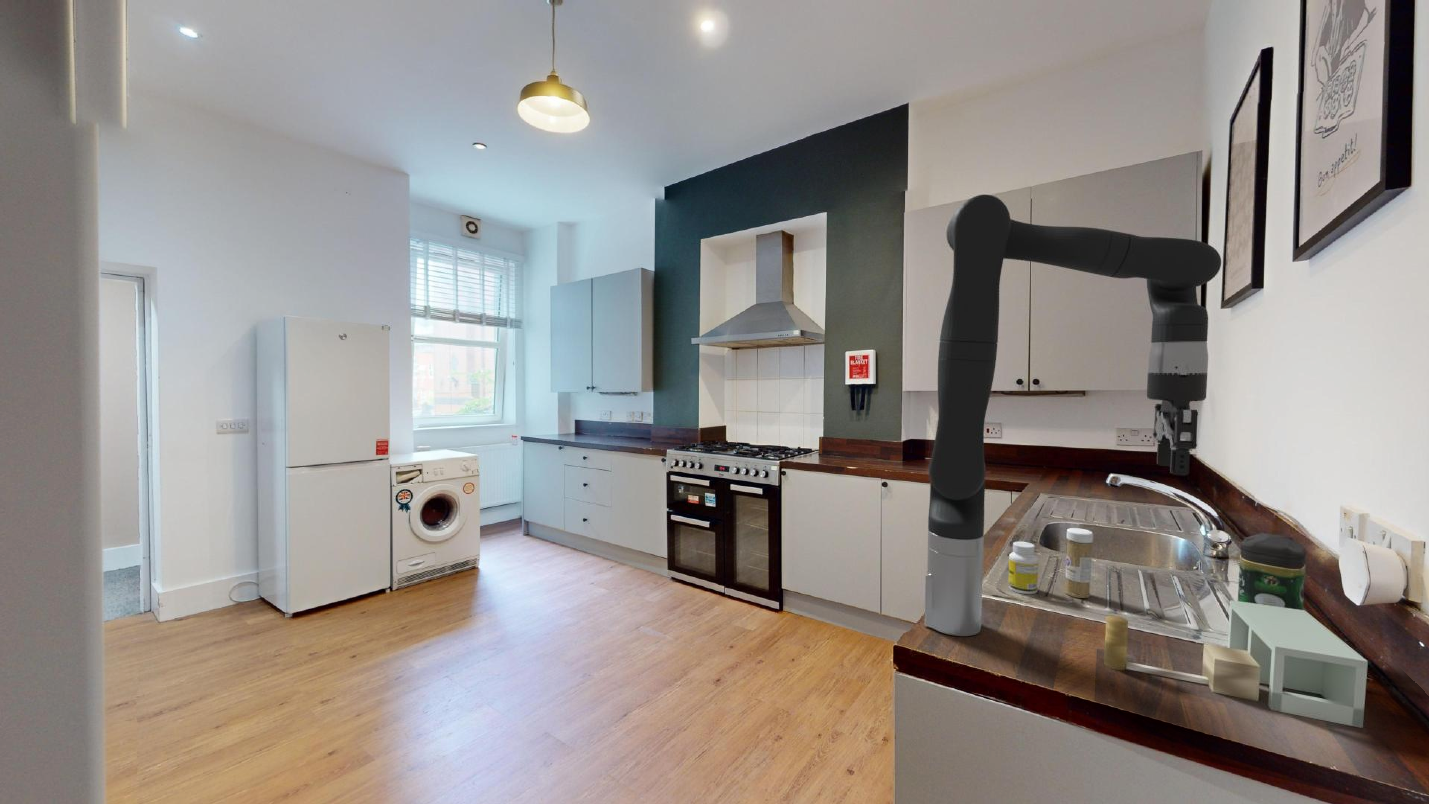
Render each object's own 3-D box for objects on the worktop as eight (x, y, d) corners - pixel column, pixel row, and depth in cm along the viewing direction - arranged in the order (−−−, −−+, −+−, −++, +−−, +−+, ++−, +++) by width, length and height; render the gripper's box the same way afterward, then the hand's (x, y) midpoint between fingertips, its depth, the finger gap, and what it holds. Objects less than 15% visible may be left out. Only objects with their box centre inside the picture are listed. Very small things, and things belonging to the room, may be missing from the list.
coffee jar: (1239, 628, 103) (1245, 526, 102) (1302, 644, 97) (1309, 536, 96) (1230, 646, 97) (1237, 537, 95) (1297, 664, 91) (1305, 549, 89)
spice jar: (1059, 590, 120) (1061, 527, 119) (1079, 589, 121) (1082, 526, 120) (1075, 599, 116) (1077, 534, 115) (1096, 598, 116) (1098, 533, 115)
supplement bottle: (1009, 583, 124) (1010, 538, 124) (1037, 588, 122) (1039, 542, 121) (1007, 591, 120) (1008, 545, 119) (1036, 597, 117) (1038, 549, 116)
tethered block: (1106, 671, 89) (1108, 624, 88) (1101, 656, 93) (1103, 611, 93) (1258, 701, 81) (1261, 649, 80) (1244, 683, 85) (1247, 634, 85)
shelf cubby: (1271, 709, 79) (1275, 646, 78) (1226, 653, 94) (1230, 600, 93) (1362, 728, 75) (1367, 661, 74) (1300, 666, 90) (1304, 610, 89)
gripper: (1138, 370, 101) (1134, 461, 102) (1159, 371, 88) (1154, 476, 89) (1192, 370, 97) (1187, 464, 98) (1222, 371, 85) (1216, 480, 86)
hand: (1171, 470), depth 94 cm, fingers open, 8 cm apart
